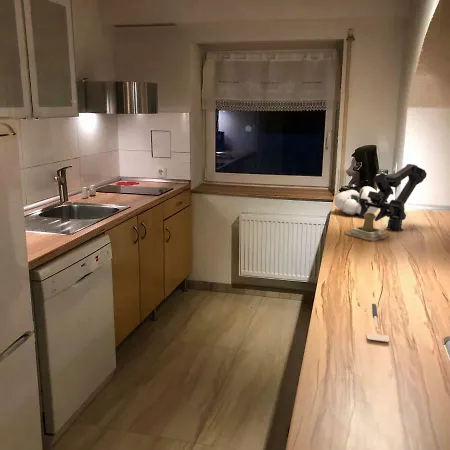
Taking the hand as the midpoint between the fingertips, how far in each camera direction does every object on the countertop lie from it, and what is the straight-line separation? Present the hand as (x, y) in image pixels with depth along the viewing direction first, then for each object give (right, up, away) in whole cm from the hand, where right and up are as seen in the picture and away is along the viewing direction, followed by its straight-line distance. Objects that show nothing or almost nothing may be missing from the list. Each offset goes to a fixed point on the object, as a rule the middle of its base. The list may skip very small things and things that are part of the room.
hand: (367, 218), depth 255 cm
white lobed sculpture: (+7, +3, +50) cm, 51 cm away
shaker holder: (0, -9, +3) cm, 9 cm away
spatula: (-25, -34, -98) cm, 107 cm away
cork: (+1, -8, +3) cm, 8 cm away
